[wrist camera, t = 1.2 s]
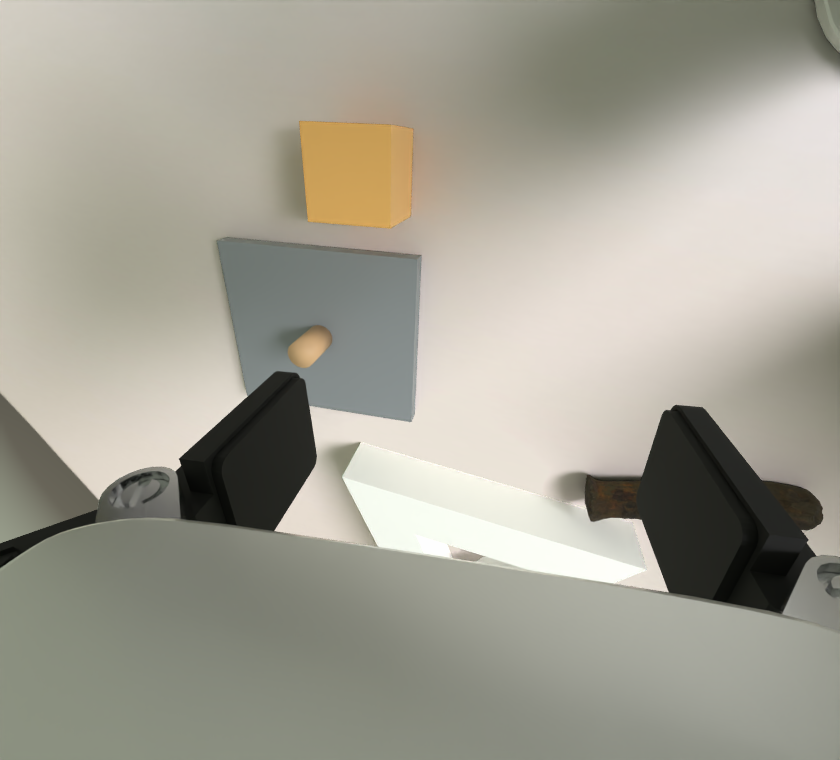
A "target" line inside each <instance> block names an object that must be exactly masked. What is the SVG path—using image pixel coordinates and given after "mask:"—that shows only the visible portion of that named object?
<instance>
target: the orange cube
mask: <svg viewBox="0 0 840 760" xmlns="http://www.w3.org/2000/svg"><path fill="white" fill-rule="evenodd" d="M299 125H300V137H301V148H302V159H303V171H304V182H305V193H306V205H307V216H308V222H318V223H330V224H342V225H354V226H366V227H378V228H390V229H391V228H392V227H394V226H395V225H397V224H399V223H400V222H402V221H404V220H405V219H407V218H409V217H410V216H411V192H412V157H413V129H412V128H407V127H401V126H396V125H388V124H363V123H338V122H314V121H299Z"/></svg>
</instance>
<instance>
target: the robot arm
mask: <svg viewBox="0 0 840 760" xmlns="http://www.w3.org/2000/svg"><path fill="white" fill-rule="evenodd" d="M815 6H816V12H817V18H818V20H819V23H820V25H821V27H822V30H823V32H824V34H825V36H826V38H827V39H828V41H829V42H830V43H831V44H832V45H833V47H834V48H835V49H836V50H837V51H838V53H840V0H815ZM316 458H317V455H316V448H315V441H314V434H313V428H312V421H311V415H310V408H309V402H308V395H307V389H306V383H305V380H304V379H303V378H300V376H299V375H298V374H297V373H294V372H283V371H276V372H274V373H273V374H272V375H271V376H270V377H269V378H268V379H266V380H265V381H264V382H263V383H262V384H261V385H260V386H259V387H258V388H257V389H255V390H254V391H253V392H252V393H251V394H250V395H249V396H248V397H247V398H246V399H244V400H243V401H242V402H241V403H240V404H239V405H238V406H237V407H236V408H235V409H233V410H232V411H231V412H230V413H229V414H228V415H227V416H226V417H225V418H224V419H222V420H221V421H220V422H219V423H218V424H217V425H216V426H215V427H214V428H212V429H211V430H210V431H209V432H208V433H207V434H206V435H205V436H204V437H203V438H201V439H200V440H199V441H198V442H197V443H196V444H195V445H194V446H193V447H192V448H190V449H189V450H188V451H187V452H186V453H185V454H184V455H183V456H182V457H181V458H179V460H180V463H181V467H180V468H179V469H178V470H176V471H173V470H172V469H170V468H166V467H149V468H144V469H140V470H137V471H134V472H132V473H129V474H127V475H125V476H123V477H121V478H119V479H118V480H116V481H115V482H114V483H112V484H111V485H110V486H108V487H107V489H106V490H105V491H104V492H103V493H102V495H101V497H100V500H99V504H98V509H97V510H94V511H92V512H89V513H86V514H83V515H80V516H77V517H75V518H72V519H69V520H66V521H63V522H60V523H57V524H54V525H52V526H49V527H46V528H43V529H40V530H38V531H34V532H32V533H29V534H26V535H23V536H20V537H17V538H15V539H12V540H9V541H6V542H3V543H0V760H840V557H837V556H826V555H820V556H816V555H815V553H814V552H813V551H812V550H811V548H810V547H809V546H808V544H807V541H808V538H807V537H806V536H805V535H804V533H803V532H802V531H801V530H800V528H799V527H798V526H797V525H796V523H795V522H794V521H793V519H792V518H791V517H790V516H789V514H788V513H787V512H786V511H785V509H784V508H783V507H782V506H781V504H780V503H779V502H778V501H777V499H776V498H775V497H774V496H773V494H772V493H771V492H770V491H769V489H768V488H767V487H766V486H765V484H764V483H763V482H762V480H761V479H760V478H759V477H758V475H757V474H756V473H755V472H754V470H753V469H752V468H751V467H750V465H749V464H748V463H747V462H746V460H745V459H744V458H743V457H742V455H741V454H740V453H739V452H738V450H737V449H736V448H735V447H734V445H733V444H732V443H731V442H730V440H729V439H728V438H727V436H726V435H725V434H724V433H723V431H722V430H721V429H720V428H719V426H718V425H717V424H716V423H715V421H714V420H713V419H712V418H711V416H710V415H709V414H708V413H707V411H706V410H705V409H704V408H703V407H693V406H682V405H675V406H673V407H672V409H671V410H665V411H664V412H663V414H662V417H661V420H660V423H659V426H658V429H657V432H656V435H655V438H654V441H653V445H652V448H651V451H650V454H649V457H648V460H647V463H646V466H645V469H644V473H643V476H642V479H641V482H640V485H639V488H638V491H637V496H636V504H637V508H638V511H639V514H640V516H641V519H642V522H643V524H644V527H645V530H646V532H647V535H648V538H649V540H650V543H651V546H652V548H653V551H654V554H655V556H656V559H657V562H658V564H659V567H660V570H661V572H662V575H663V578H664V580H665V583H666V586H667V588H668V591H669V593H668V592H662V591H656V590H650V589H644V588H638V587H632V586H626V585H620V584H613V583H607V582H601V581H595V580H588V579H582V578H576V577H570V576H563V575H557V574H551V573H544V572H538V571H532V570H526V569H519V568H513V567H507V566H500V565H494V564H488V563H481V562H475V561H468V560H462V559H455V558H449V557H442V556H436V555H429V554H423V553H416V552H410V551H403V550H397V549H390V548H384V547H377V546H371V545H364V544H357V543H350V542H344V541H337V540H330V539H323V538H317V537H310V536H303V535H296V534H290V533H283V532H276V531H274V530H275V529H276V527H277V526H278V524H279V522H280V521H281V519H282V518H283V516H284V514H285V513H286V511H287V510H288V508H289V506H290V505H291V503H292V502H293V500H294V499H295V497H296V495H297V494H298V492H299V491H300V489H301V487H302V486H303V484H304V483H305V481H306V479H307V478H308V476H309V475H310V473H311V472H312V470H313V468H314V466H315V464H316Z"/></svg>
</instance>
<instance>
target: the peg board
mask: <svg viewBox="0 0 840 760" xmlns="http://www.w3.org/2000/svg"><path fill="white" fill-rule="evenodd" d="M217 244H218V249H219V255H220V260H221V265H222V270H223V275H224V280H225V285H226V290H227V295H228V300H229V305H230V310H231V316H232V321H233V326H234V331H235V336H236V341H237V346H238V351H239V356H240V361H241V366H242V372H243V377H244V382H245V387H246V392H247V396H249V395H250V394H251V393H252V392H253V391H254V390H255V389H257V388H258V387H259V386H260V385H261V384H262V383H263V382H264V381H265V380H266V379H268V378H269V377H270V376H271V375H272V374H273V373H274V372H276V371H283V372H294V373H297V374H298V375H299V376H300V378H303V379H304V380H305V383H306V389H307V395H308V402H309V406H315V407H321V408H327V409H333V410H339V411H346V412H352V413H358V414H364V415H371V416H377V417H383V418H389V419H395V420H402V421H408V422H412V419H413V417H414V414H415V394H416V370H417V347H418V323H419V299H420V276H421V255H412V254H401V253H390V252H379V251H369V250H358V249H347V248H336V247H326V246H315V245H304V244H293V243H283V242H272V241H261V240H250V239H240V238H229V237H227V238H223V239H220V240H217Z"/></svg>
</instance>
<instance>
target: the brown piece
mask: <svg viewBox="0 0 840 760" xmlns="http://www.w3.org/2000/svg"><path fill="white" fill-rule="evenodd" d="M640 482H641V481H630V482H628V481H599V480H596V479H594V478H593V477H592V476H590V475H587V478H586V487H585V504H586V508H587V512H588V516H589V519H590V521H591V522H596V521H600V520H603V519H608V518H624V519H627V518H629V519H640V520H642V519H641V516H640V514H639V511H638V508H637V504H636V496H637V491H638V488H639V485H640ZM762 482H763V483H764V484H765V486H766V487H767V488H768V489H769V491H770V492H771V493H772V494H773V496H774V497H775V498H776V499H777V501H778V502H779V503H780V504H781V506H782V507H783V508H784V509H785V511H786V512H787V513H788V514H789V516H790V517H791V518H792V519H793V521H794V522H795V523H796V525H797V526H798V527H799V528H800V530H810V529H813V528H815V527H816V526H817V525H819V524H821V522H822V520H823V514H822V509H823V508H822V506H821V504H820V502H819V500H818V499H817V498H816V497H815V496H814V495H813V494H812V493H811V492H809V491H808V490H807V489H806V490H805V489H803V488H800V487H795V486H791V485H786V484H781V483H777V482H776V483H774V482H764V481H762Z"/></svg>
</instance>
